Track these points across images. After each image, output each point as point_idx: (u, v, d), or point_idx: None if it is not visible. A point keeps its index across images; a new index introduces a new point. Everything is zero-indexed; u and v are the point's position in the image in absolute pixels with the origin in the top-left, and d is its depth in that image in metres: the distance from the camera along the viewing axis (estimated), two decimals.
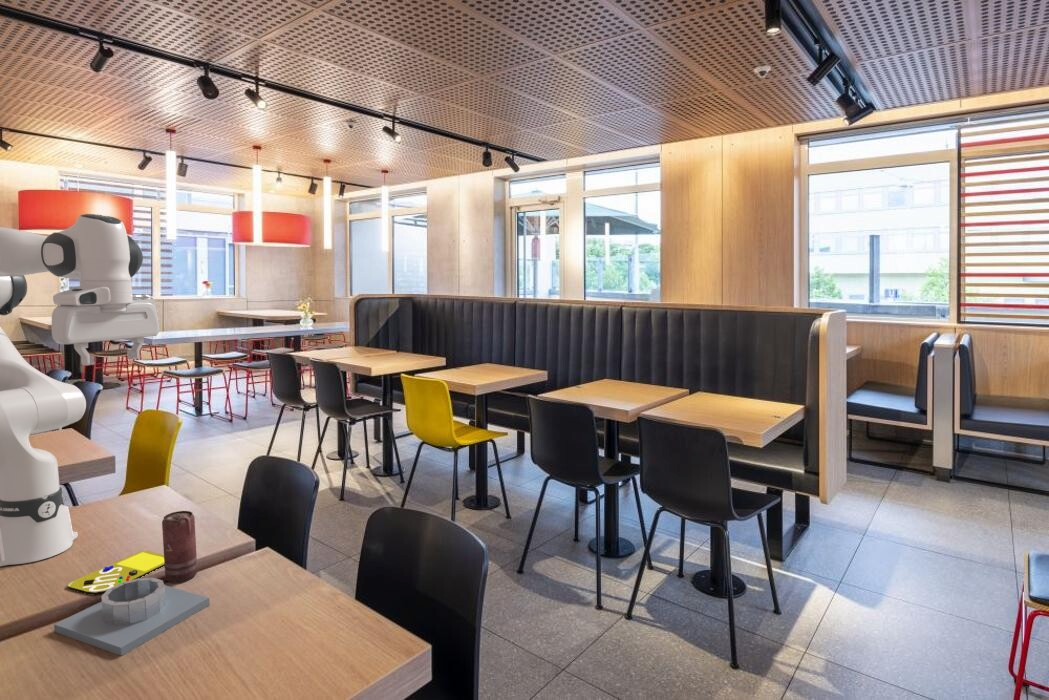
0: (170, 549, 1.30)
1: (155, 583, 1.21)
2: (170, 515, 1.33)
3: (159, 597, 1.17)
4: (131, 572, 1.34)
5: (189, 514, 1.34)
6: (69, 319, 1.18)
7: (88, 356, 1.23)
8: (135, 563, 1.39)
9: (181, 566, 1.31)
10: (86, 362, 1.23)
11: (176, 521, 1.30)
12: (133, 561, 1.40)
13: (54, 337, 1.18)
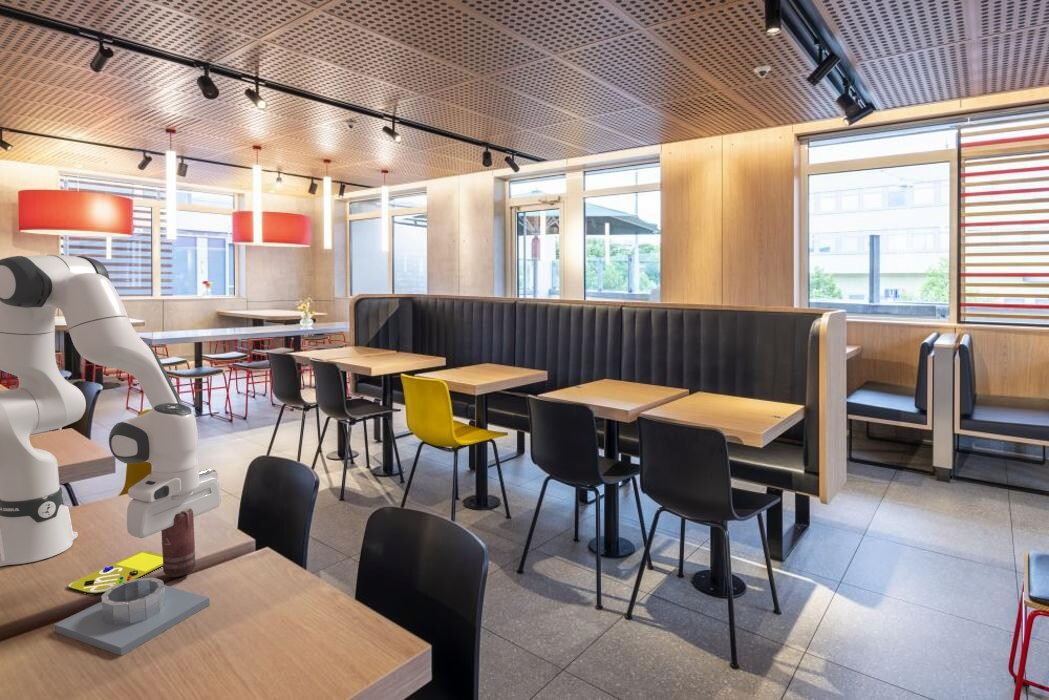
0: (168, 543, 1.30)
1: (155, 583, 1.21)
2: None
3: (159, 597, 1.17)
4: (131, 572, 1.34)
5: None
6: (144, 516, 1.23)
7: None
8: (135, 563, 1.39)
9: (179, 560, 1.31)
10: None
11: (175, 515, 1.30)
12: (133, 561, 1.40)
13: (129, 531, 1.24)
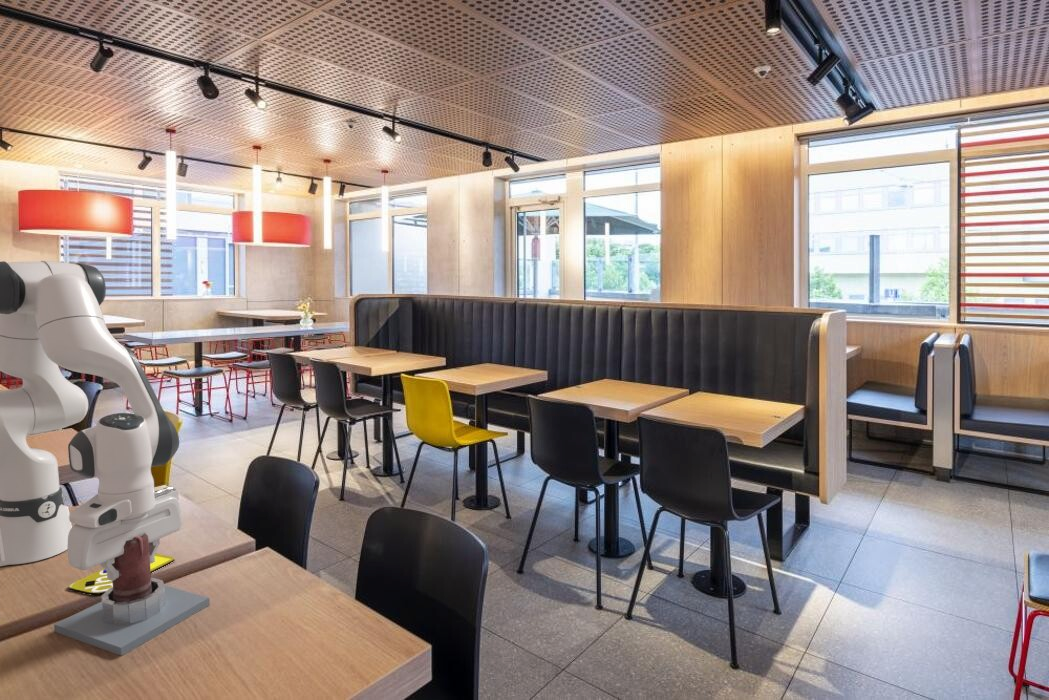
0: None
1: (155, 583, 1.21)
2: None
3: (159, 597, 1.17)
4: None
5: None
6: (87, 545, 1.07)
7: (114, 571, 1.13)
8: None
9: (131, 593, 1.15)
10: (112, 578, 1.13)
11: (126, 542, 1.14)
12: None
13: (70, 562, 1.07)
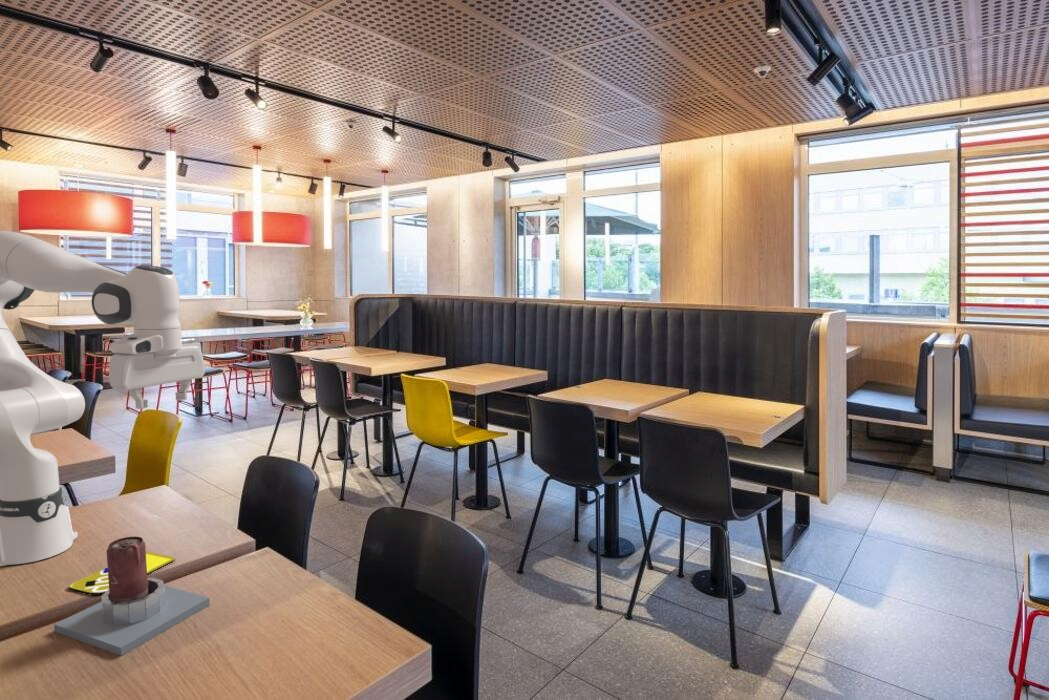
0: (115, 582, 1.13)
1: (155, 583, 1.21)
2: (117, 542, 1.16)
3: (159, 597, 1.17)
4: None
5: (139, 540, 1.17)
6: (126, 367, 1.25)
7: (142, 400, 1.30)
8: None
9: (128, 601, 1.14)
10: (140, 406, 1.30)
11: (122, 549, 1.13)
12: None
13: (112, 384, 1.25)
